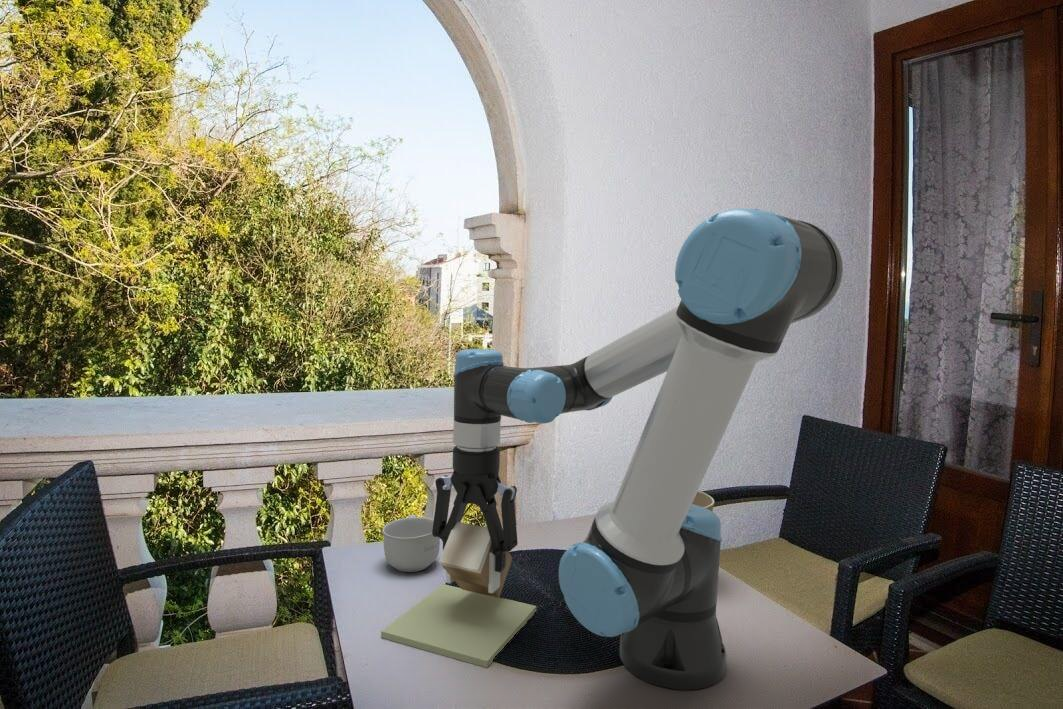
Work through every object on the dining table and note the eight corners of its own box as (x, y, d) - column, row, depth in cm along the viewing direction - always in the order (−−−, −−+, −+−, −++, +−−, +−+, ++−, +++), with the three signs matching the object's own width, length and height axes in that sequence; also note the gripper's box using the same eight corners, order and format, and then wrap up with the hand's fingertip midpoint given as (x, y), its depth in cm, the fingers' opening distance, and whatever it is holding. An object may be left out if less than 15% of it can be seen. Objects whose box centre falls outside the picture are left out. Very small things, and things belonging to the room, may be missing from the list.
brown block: (512, 558, 110) (493, 528, 102) (499, 598, 105) (478, 570, 98) (476, 550, 112) (454, 521, 104) (461, 589, 108) (438, 561, 100)
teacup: (434, 579, 117) (434, 536, 117) (375, 576, 118) (375, 534, 117) (445, 549, 131) (446, 511, 131) (393, 547, 132) (393, 509, 131)
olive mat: (536, 611, 106) (536, 606, 106) (487, 667, 90) (487, 661, 90) (442, 589, 113) (442, 583, 113) (381, 637, 97) (381, 631, 97)
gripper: (543, 448, 102) (538, 588, 104) (435, 434, 109) (432, 564, 111) (524, 459, 95) (519, 608, 97) (410, 443, 102) (408, 581, 105)
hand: (472, 584), depth 104 cm, fingers closed on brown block, 7 cm apart
